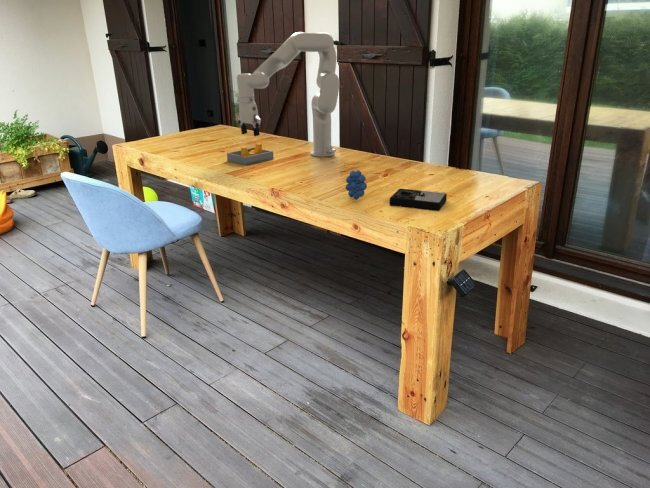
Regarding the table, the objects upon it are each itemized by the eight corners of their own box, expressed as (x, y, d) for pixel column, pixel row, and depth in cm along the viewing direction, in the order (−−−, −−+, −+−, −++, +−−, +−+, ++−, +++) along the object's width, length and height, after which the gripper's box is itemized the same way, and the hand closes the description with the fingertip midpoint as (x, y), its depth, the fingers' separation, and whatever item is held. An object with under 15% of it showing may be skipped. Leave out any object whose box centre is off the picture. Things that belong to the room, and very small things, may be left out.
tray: (273, 159, 273) (273, 151, 271) (246, 165, 261) (245, 157, 259) (254, 154, 282) (254, 147, 281) (227, 160, 270) (226, 153, 269)
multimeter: (398, 196, 212) (398, 184, 210) (446, 202, 205) (447, 189, 203) (388, 206, 201) (389, 193, 199) (439, 212, 194) (440, 199, 192)
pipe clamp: (256, 155, 277) (255, 143, 274) (262, 156, 274) (261, 144, 272) (239, 159, 268) (238, 147, 266) (245, 160, 265) (244, 148, 263)
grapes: (374, 200, 206) (374, 170, 202) (360, 204, 203) (361, 173, 198) (354, 193, 215) (354, 165, 210) (341, 197, 211) (341, 167, 207)
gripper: (264, 99, 257) (267, 135, 264) (241, 97, 268) (245, 131, 275) (252, 102, 252) (255, 138, 259) (230, 99, 263) (234, 134, 270)
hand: (250, 134), depth 267 cm, fingers open, 9 cm apart
